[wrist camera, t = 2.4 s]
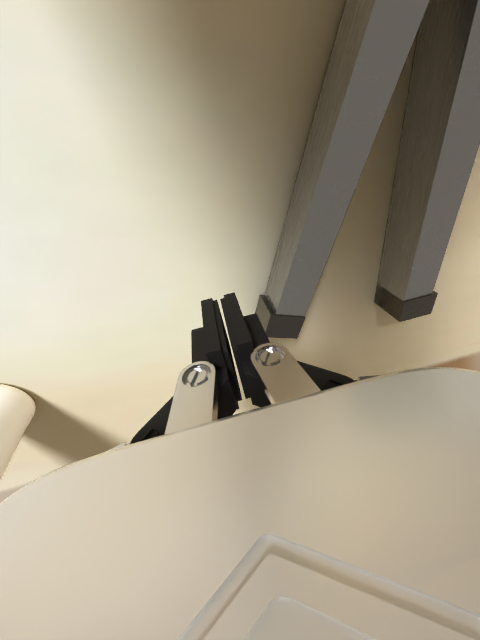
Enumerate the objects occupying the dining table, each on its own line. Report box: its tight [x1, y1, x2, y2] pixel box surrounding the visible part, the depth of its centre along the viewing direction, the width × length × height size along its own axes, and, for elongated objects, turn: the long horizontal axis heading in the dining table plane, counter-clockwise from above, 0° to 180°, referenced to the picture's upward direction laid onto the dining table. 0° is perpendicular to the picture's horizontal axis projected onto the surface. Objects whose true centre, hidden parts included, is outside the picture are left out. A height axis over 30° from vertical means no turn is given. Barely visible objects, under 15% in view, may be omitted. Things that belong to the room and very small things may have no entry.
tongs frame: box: [374, 0, 480, 322], centre depth 14 cm, size 29×6×3 cm, turn 11°
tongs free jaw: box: [255, 0, 430, 339], centre depth 15 cm, size 22×3×3 cm, turn 169°
